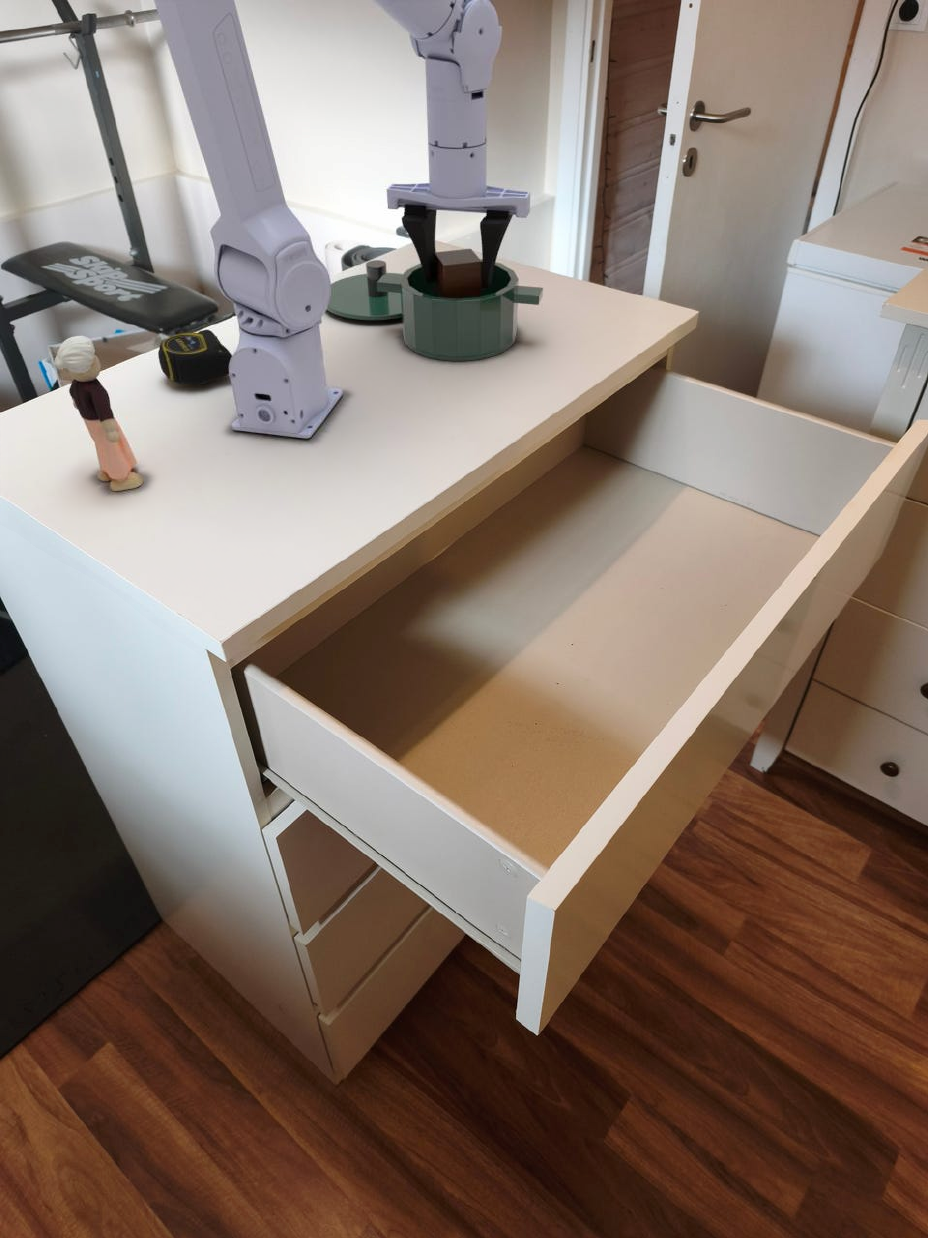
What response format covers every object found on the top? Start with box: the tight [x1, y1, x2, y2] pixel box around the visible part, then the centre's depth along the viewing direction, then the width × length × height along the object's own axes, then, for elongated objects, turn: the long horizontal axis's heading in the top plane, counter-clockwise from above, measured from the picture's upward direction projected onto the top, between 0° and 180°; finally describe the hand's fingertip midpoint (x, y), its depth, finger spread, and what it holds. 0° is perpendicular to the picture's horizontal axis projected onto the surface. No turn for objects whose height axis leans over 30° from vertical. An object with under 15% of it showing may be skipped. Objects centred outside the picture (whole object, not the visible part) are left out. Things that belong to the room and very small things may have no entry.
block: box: [433, 248, 482, 299], centre depth 91 cm, size 4×4×4 cm
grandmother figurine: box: [53, 335, 144, 492], centre depth 70 cm, size 8×4×13 cm, turn 52°
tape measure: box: [157, 329, 233, 386], centre depth 88 cm, size 7×7×4 cm
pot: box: [377, 258, 544, 362], centre depth 94 cm, size 13×18×6 cm
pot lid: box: [326, 259, 404, 321], centre depth 102 cm, size 14×14×5 cm
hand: (459, 282), depth 92 cm, fingers closed on block, 5 cm apart
